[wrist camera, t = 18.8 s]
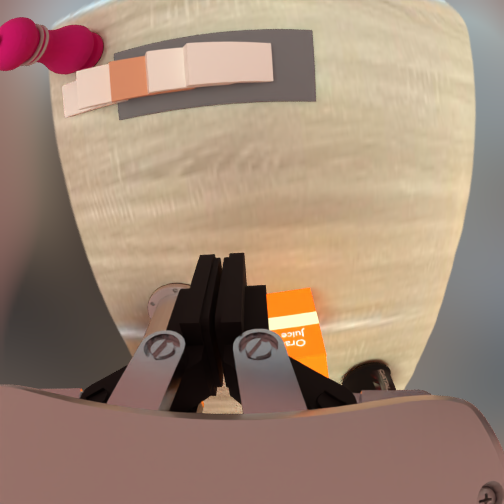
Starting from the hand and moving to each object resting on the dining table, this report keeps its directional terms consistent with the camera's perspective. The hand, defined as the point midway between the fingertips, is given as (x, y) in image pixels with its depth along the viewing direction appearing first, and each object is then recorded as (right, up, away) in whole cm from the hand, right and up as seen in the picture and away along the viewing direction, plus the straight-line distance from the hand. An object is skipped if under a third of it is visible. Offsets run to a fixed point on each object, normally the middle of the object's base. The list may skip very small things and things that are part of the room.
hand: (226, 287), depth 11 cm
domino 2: (-11, +23, +19) cm, 32 cm away
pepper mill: (-23, +30, +17) cm, 41 cm away
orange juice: (+7, -8, +38) cm, 40 cm away
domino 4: (-2, +24, +18) cm, 30 cm away
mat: (-4, +24, +20) cm, 32 cm away
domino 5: (+3, +24, +18) cm, 30 cm away
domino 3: (-6, +23, +19) cm, 31 cm away
